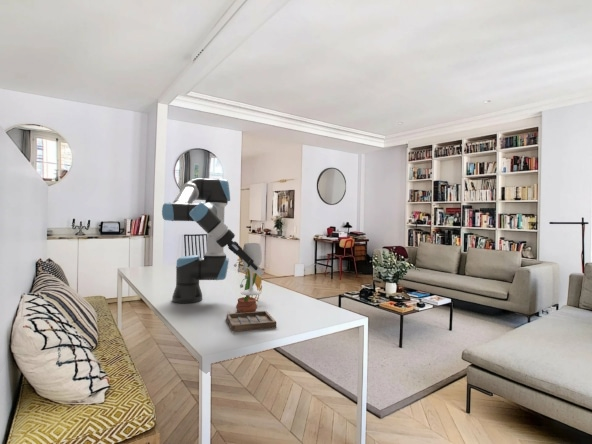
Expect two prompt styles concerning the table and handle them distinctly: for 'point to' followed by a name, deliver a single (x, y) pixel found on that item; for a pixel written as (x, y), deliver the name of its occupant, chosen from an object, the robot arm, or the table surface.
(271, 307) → the table surface
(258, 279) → the yellow flower sprig
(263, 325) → the wooden tray
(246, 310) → the potted flower
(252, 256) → the wineglass
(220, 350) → the table surface
